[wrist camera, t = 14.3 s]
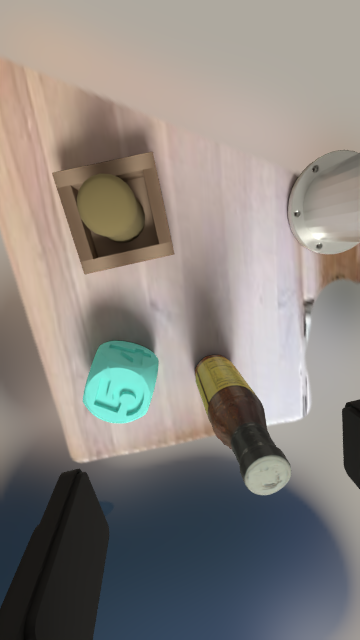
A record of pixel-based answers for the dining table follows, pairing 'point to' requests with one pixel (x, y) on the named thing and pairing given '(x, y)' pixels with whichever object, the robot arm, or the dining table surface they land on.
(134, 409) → the decorative dice
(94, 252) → the shaker holder
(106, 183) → the cork
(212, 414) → the sauce bottle
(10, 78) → the dining table surface
